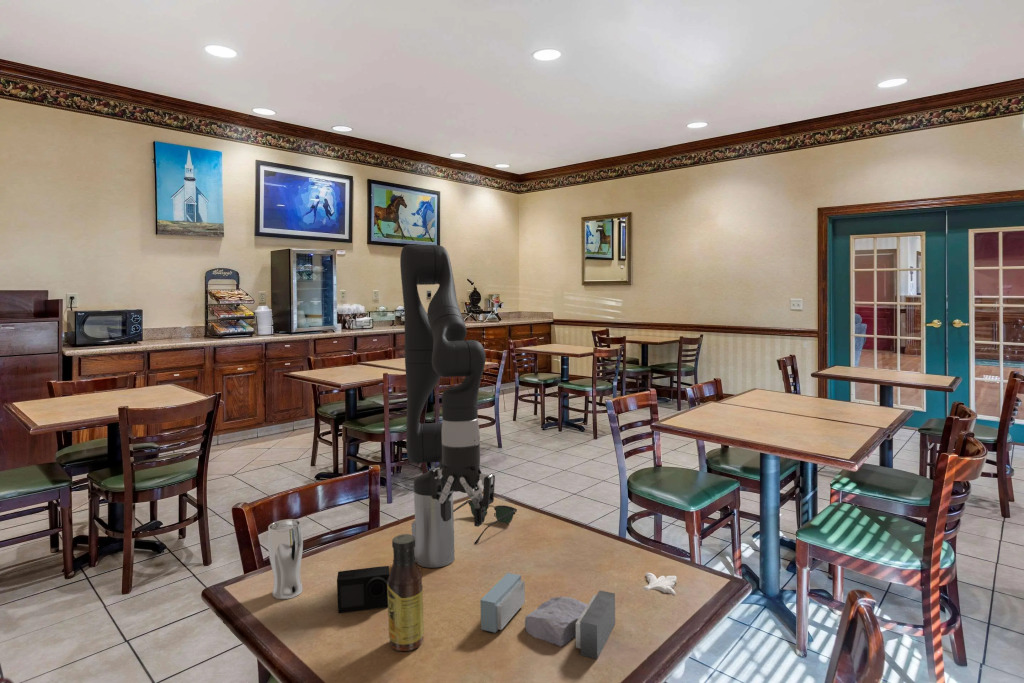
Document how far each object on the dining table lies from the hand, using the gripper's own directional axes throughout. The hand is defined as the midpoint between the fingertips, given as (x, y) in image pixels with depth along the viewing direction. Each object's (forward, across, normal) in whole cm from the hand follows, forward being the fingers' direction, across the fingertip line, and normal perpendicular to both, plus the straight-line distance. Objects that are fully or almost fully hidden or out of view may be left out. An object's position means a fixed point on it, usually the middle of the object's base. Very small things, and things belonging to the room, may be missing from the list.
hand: (462, 522), depth 117 cm
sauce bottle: (+18, -4, -15) cm, 24 cm away
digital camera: (+18, -19, -7) cm, 27 cm away
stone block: (+18, +20, +1) cm, 27 cm away
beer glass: (+18, -39, -9) cm, 43 cm away
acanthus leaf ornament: (+18, +34, +24) cm, 46 cm away
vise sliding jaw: (+17, +9, 0) cm, 19 cm away
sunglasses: (+18, -17, +38) cm, 46 cm away
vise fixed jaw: (+18, +27, 0) cm, 33 cm away
